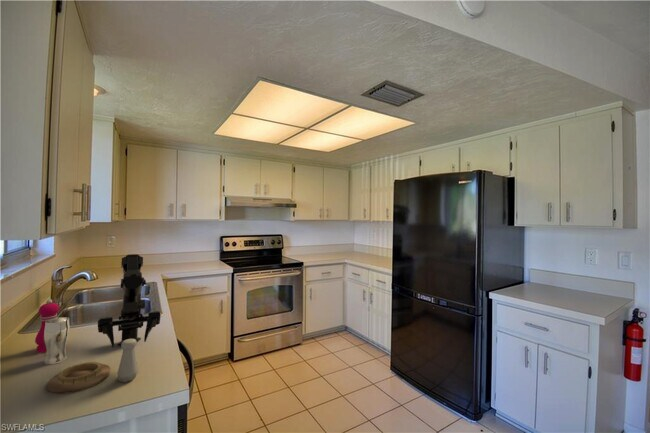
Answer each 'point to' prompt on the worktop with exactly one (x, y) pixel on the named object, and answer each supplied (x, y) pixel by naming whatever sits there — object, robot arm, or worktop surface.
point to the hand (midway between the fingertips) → (129, 344)
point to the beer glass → (56, 339)
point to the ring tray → (77, 386)
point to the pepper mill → (46, 313)
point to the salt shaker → (128, 361)
